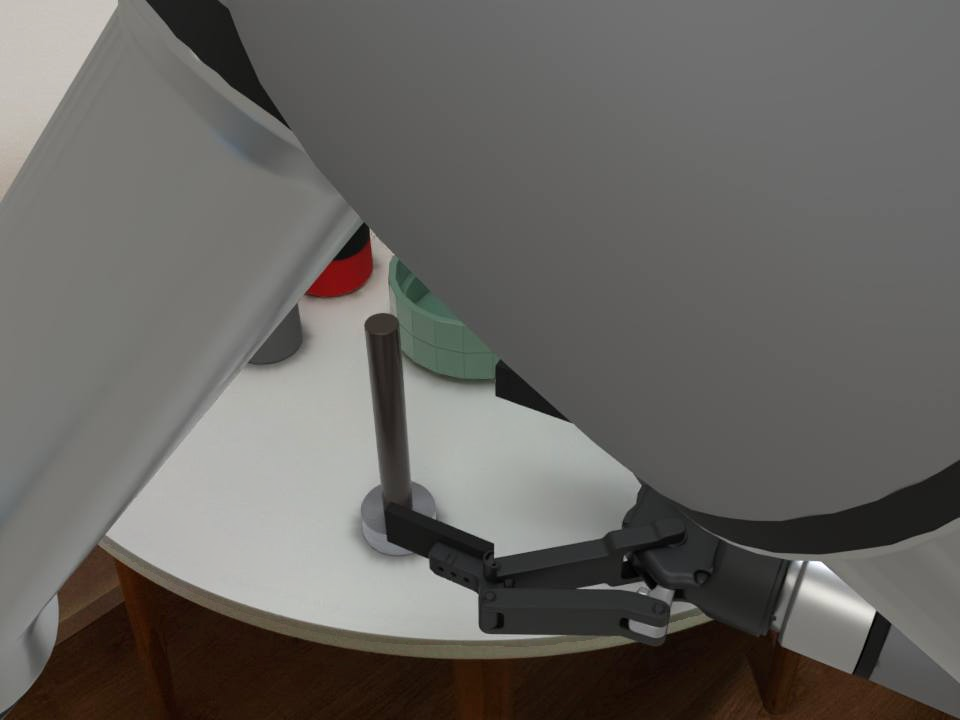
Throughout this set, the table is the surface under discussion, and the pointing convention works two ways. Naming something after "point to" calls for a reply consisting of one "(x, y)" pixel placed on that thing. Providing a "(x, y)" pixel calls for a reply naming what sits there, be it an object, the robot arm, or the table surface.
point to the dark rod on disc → (389, 435)
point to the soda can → (346, 267)
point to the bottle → (281, 340)
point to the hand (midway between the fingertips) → (446, 444)
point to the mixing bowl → (435, 330)
